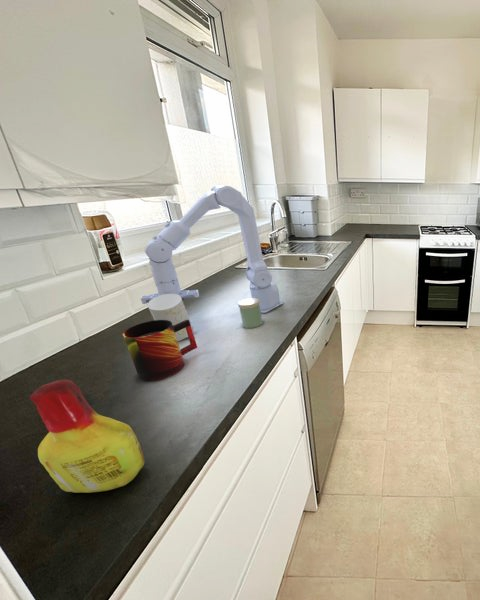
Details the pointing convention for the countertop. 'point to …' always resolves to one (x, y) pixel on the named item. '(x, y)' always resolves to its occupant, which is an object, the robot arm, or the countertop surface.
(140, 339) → the mug
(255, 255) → the robot arm
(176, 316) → the white cylinder
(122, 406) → the countertop surface
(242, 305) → the tea tin
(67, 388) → the bottle
